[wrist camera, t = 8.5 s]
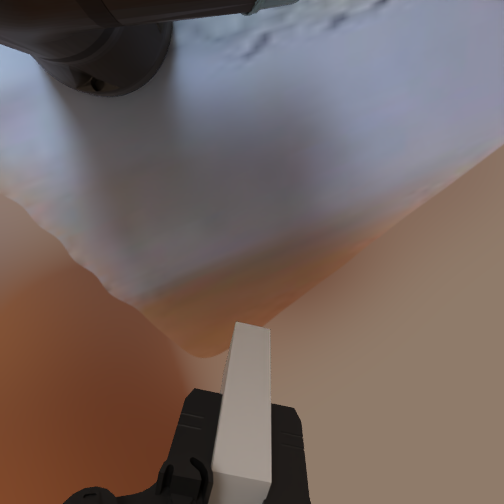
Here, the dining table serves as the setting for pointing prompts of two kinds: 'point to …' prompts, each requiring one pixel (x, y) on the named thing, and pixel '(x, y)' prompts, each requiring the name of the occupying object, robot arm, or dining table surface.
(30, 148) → the dining table surface
